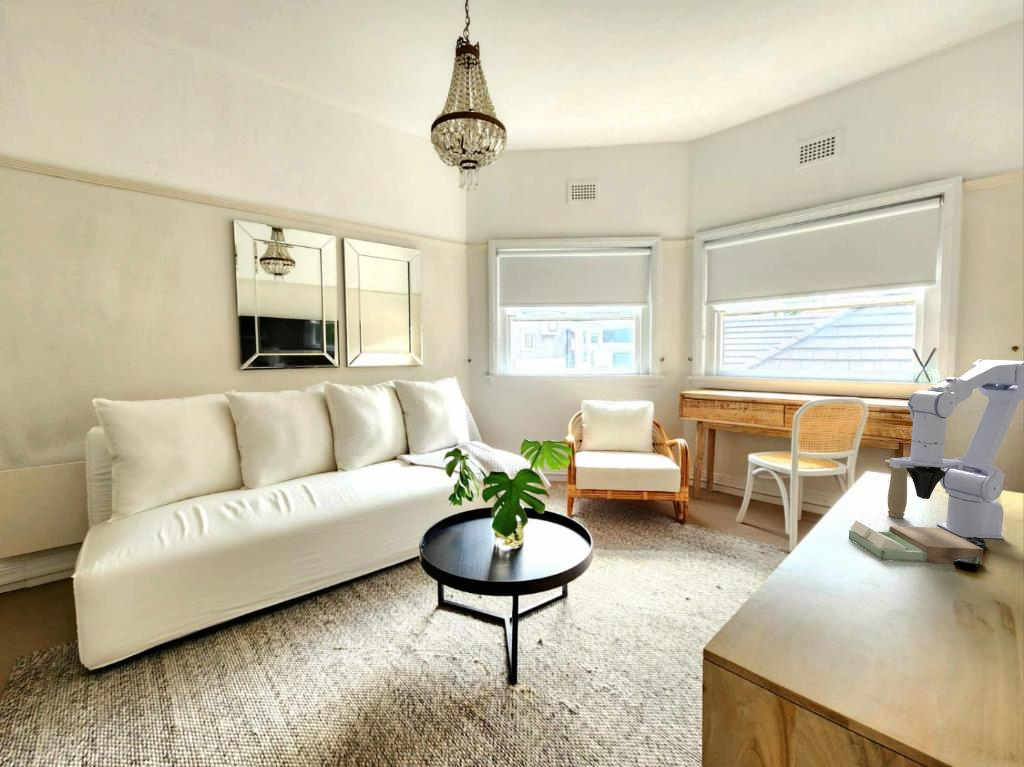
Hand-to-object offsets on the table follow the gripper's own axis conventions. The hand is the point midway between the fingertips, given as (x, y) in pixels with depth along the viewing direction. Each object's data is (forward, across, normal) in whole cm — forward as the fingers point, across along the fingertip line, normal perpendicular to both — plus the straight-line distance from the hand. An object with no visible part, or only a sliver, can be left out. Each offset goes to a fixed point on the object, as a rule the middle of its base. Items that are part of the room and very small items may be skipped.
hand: (923, 497), depth 107 cm
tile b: (+7, -13, -9) cm, 17 cm away
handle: (+11, +5, +15) cm, 19 cm away
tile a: (+7, -14, -4) cm, 16 cm away
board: (+10, -2, -6) cm, 12 cm away
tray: (+10, -12, -6) cm, 17 cm away
